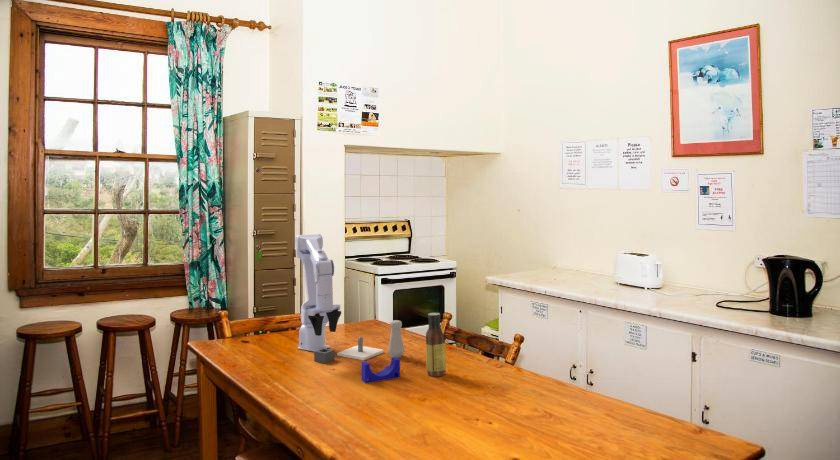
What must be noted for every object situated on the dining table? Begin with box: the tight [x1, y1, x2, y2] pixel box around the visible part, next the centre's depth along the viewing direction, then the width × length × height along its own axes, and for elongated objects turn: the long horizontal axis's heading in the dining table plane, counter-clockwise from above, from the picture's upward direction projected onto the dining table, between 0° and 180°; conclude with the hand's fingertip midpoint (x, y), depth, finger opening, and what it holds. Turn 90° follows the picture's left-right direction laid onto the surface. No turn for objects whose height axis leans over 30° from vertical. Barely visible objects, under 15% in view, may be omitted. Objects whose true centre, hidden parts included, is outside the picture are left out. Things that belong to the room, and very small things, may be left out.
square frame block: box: [313, 348, 336, 364], centre depth 200 cm, size 5×5×4 cm
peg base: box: [336, 336, 384, 362], centre depth 208 cm, size 12×12×6 cm
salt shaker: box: [387, 319, 405, 359], centre depth 204 cm, size 6×6×13 cm
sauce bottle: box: [425, 312, 447, 377], centre depth 184 cm, size 7×6×20 cm
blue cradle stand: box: [360, 357, 401, 384], centre depth 181 cm, size 12×4×6 cm, turn 118°
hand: (325, 333), depth 199 cm, fingers open, 7 cm apart
